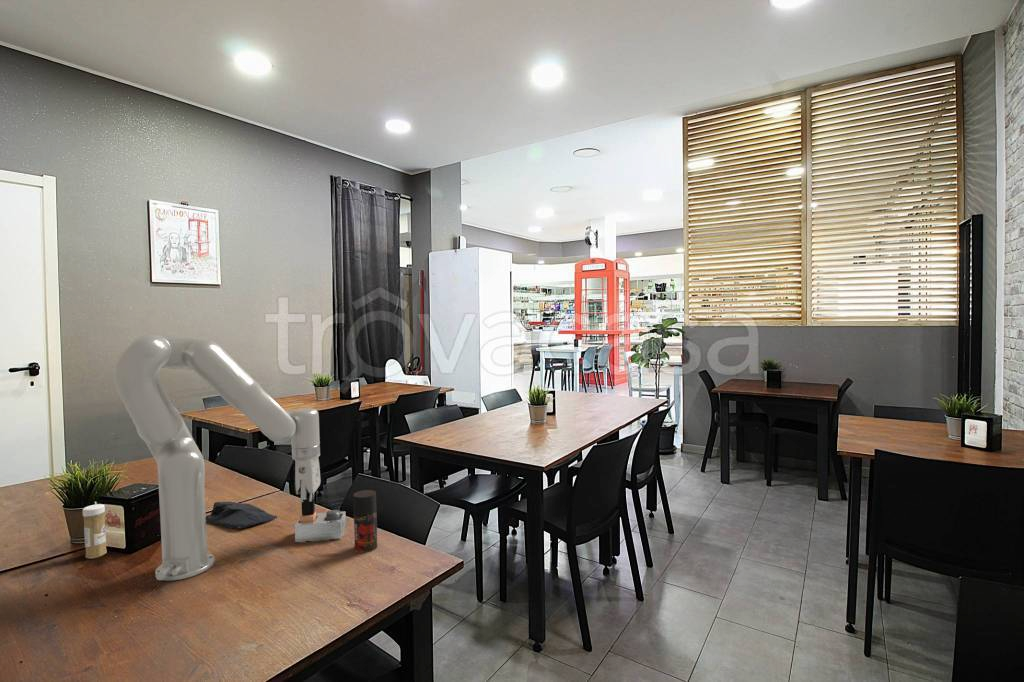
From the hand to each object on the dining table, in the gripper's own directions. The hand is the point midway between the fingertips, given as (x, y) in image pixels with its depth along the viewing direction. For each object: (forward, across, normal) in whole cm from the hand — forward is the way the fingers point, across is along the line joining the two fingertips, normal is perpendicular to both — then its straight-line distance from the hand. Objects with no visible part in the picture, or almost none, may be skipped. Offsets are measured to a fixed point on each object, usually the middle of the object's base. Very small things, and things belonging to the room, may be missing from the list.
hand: (308, 513), depth 144 cm
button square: (+5, 0, 0) cm, 5 cm away
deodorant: (+7, -11, -17) cm, 22 cm away
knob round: (+5, 0, -7) cm, 9 cm away
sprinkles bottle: (+7, -1, +55) cm, 55 cm away
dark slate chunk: (+7, +18, +25) cm, 32 cm away
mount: (+6, 0, -3) cm, 7 cm away
